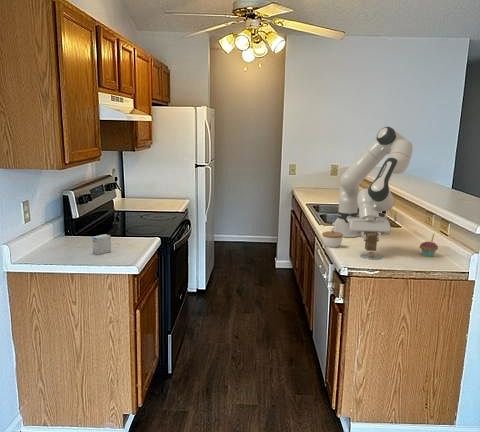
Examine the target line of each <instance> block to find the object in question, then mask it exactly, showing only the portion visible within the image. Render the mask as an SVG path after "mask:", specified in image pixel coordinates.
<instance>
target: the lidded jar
mask: <svg viewBox="0 0 480 432" xmlns="http://www.w3.org/2000/svg"><path fill="white" fill-rule="evenodd" d="M321 236H322V243H323V245H324V246H325V247H326V248H333V249H334V248H339V247H340V246H341V244H342V243H343V237H342V236H343V234H342V233H339V232H334V231H333V230H332V231H331V230H330V231H324V232H322V235H321Z"/></svg>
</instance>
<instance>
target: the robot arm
mask: <svg viewBox="0 0 480 432" xmlns="http://www.w3.org/2000/svg"><path fill="white" fill-rule="evenodd" d="M413 150H414V147H413V144H412V142H411V141H410V140H408V139H407V138H405V136H403V135H402V134H400V133H399V132H397V131H396V130H395V129H394V128H392V127H390V126H385V127H383V128H381V129H379V131H378V132H377V134H376V138H375V140H374V141H372V142H371V143H369V145H368V146H367V147H366V148H365V149H364V150H363V151H362V153H360V154H359V156H358V157H356V159H355V160H354V161H353V162H352V163H351V164H350V165H349V167H348V168H347V169H346V170H345V171H344V172H342V174H341V176H340V178H339V184H340V187H339V198H338V211H337V213H336V214H337V215H336V216H337V218H336V219H335V221H334V222H332V227H331V230H330V231H332V230H333V231H334V232H339V233H342V234H343V236H342V238H357V237H361V238H362V240H363V242H365V241H367V237H366V233H376V234H377V243H378V242H380V236H389V235H390V233H391V232H392V227H391V224H390V221H389V219H388V215H387V214H386V213H383V212H387V211H389V210H391V209H392V208H394V205H395V198H394V195H393V194H392V192H391V190H390V187H389V186H390V185H389V183H390V180H391V177H392V176H393V175H396V174H397V175H399V174H402V173H404V172H406V171H407V169H408V167H409V164H410V162H411V159H412V157H413V156H412V154H413ZM387 155H388V157H387V159H386V160H385V161H384V163H383V164H382V166H381V167H380V170H379V172H378V174H377V176H376V178H375V179H374V180H373V182H371V183H370V185H369V186H368V188H363V189H362V190H360V184H361V183H362V182H363V181H364V179H366V177H367V176H368V175H369V174H370V173H371V172H372V171H373V170H374V169H375V168H376V166H378V165H379V164H380V163H381V161H382V160H384V158H385V157H386V156H387Z"/></svg>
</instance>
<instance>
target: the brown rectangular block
mask: <svg viewBox="0 0 480 432" xmlns="http://www.w3.org/2000/svg"><path fill="white" fill-rule="evenodd" d="M365 237H367V241H364V243H365V244H364V249H365V250H366V252H376V251H377V245H378V242H377V237H378V236H377V234H376V233H366V234H365Z"/></svg>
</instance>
